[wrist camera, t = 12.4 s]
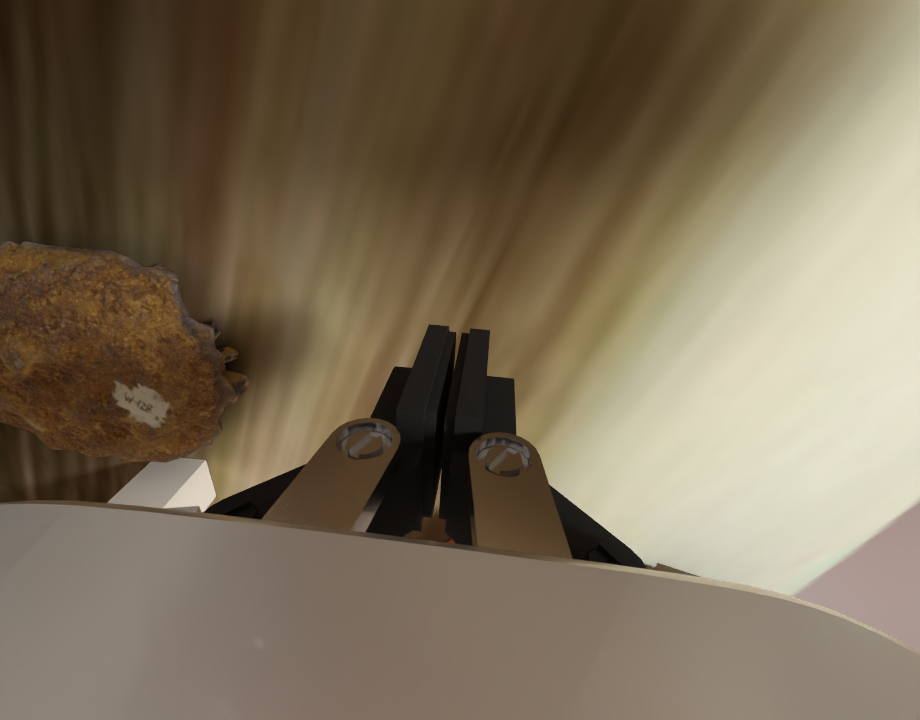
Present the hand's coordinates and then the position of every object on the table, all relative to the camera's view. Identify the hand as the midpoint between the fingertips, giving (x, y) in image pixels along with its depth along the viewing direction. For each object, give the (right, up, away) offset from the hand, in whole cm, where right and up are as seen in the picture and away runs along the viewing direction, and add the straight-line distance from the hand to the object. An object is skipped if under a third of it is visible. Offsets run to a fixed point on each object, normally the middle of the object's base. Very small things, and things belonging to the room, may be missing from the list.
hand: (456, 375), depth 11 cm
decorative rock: (-19, +1, +11) cm, 21 cm away
